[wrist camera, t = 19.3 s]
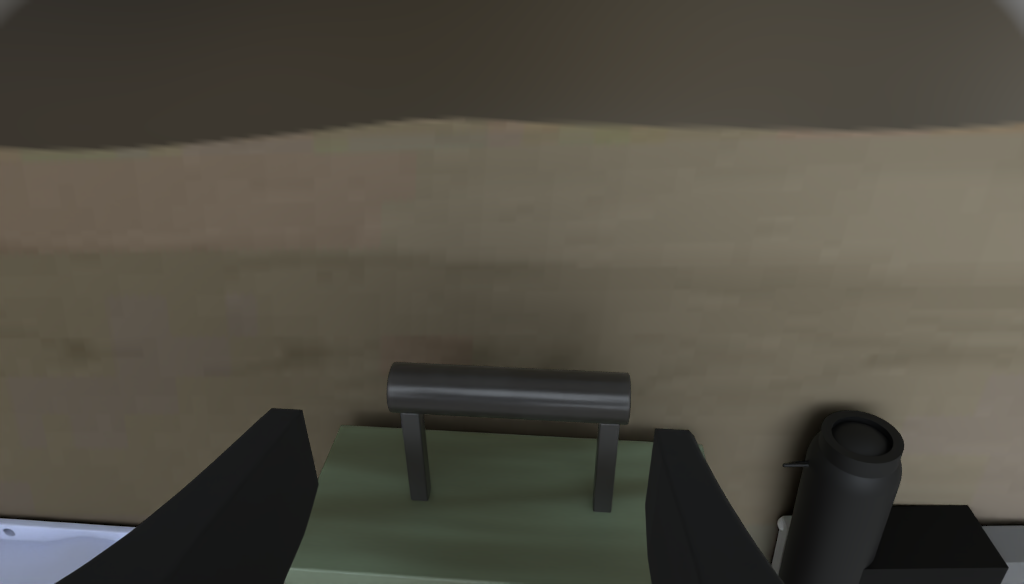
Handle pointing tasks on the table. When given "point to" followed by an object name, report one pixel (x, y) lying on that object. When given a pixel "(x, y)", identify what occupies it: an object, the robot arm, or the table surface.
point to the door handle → (881, 520)
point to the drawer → (483, 486)
